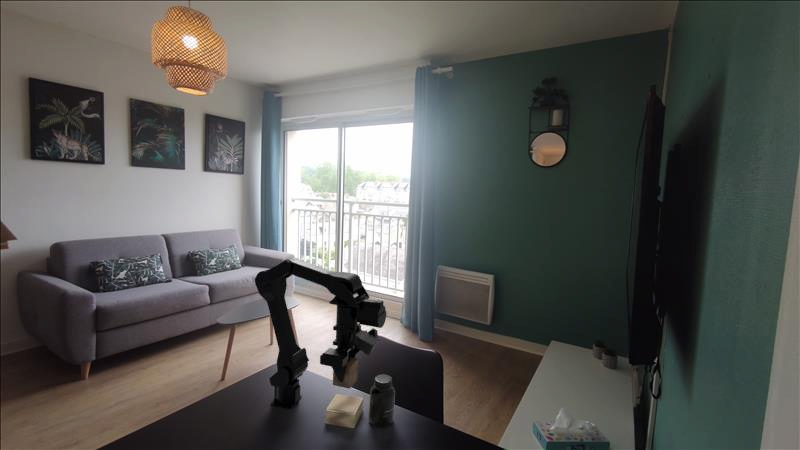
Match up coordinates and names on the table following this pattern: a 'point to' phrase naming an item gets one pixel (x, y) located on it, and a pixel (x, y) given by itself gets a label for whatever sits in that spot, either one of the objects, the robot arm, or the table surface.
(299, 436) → the table surface
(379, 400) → the supplement bottle
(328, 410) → the oak block
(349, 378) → the walnut block
